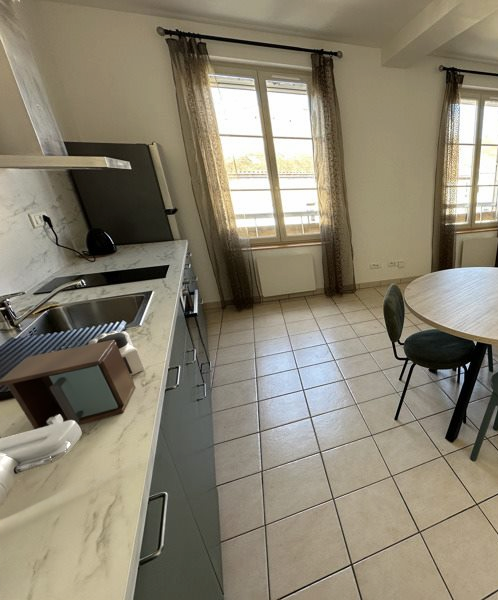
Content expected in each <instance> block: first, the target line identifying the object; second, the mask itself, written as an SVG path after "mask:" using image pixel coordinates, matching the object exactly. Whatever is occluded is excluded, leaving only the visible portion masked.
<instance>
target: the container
mask: <svg viewBox="0 0 498 600" xmlns="http://www.w3.org/2000/svg"><path fill="white" fill-rule="evenodd" d="M110 340H115V342H116V344H117V347H118V349H119V351H120V353H121V355H122V358H123V360H124V362H125V364H126V367H127V369H128V371H129V373H130V376H131V377H132V376H134V375H136V374H138V373H140V372H142V371H145V366H144V363H143V361H142V359H141V356H140V354H139V352H138V349H137V348H135V347H134V346H133V347H132V346H130V345H129V344H128V341H127V339H126V337H125V334H123V333H111V334H108V335H105V336H103V337H101V338H100V339H99V340H98V341H97V343H100V342H105V341H110Z"/></svg>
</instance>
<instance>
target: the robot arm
mask: <svg viewBox="0 0 498 600" xmlns="http://www.w3.org/2000/svg"><path fill="white" fill-rule="evenodd" d="M46 422H47V424H48V425H49V426H46V427H42V428H38V429H34V428H33V429H31V430H27V431H23V432H19V433H16V434H13V435H8V436H4V437H0V508H2V506H3V505H4V503H6V501H7V499H8V498H9V497H10V496H11V494H12V492H13V491H14V490H15V488H16V487H17V485H18V484H19V483H20V482H21V480H22V477H23V473H24V472H27V471H30V470H33V469H35V468H36V469H37V468H41V467H43V466H46V465H49V464H52V463H55V462H57V461H59V460H61V459H62V458H64V457H65V456H66V455H67V454H68V453H69V452H70V451H71V449H72V448H73V447H74V446H75V445H76V443H77V442H78V441H79V440H80V438H81V436H82V429H81V427H80V425H78V424H77V423H76V422H75V421H73V420H68V421H65V422H63V418H62V416H61V415H56V416H52V417H50V418H49V419H48V420H47V421H46Z"/></svg>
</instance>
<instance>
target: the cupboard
mask: <svg viewBox="0 0 498 600" xmlns="http://www.w3.org/2000/svg"><path fill="white" fill-rule="evenodd" d="M94 365H98V366H99V368H100V370H101V372H102V374H103V376H104V378H105V380H106V382H107V384H108V386H109V388H110V390H111V393H112V395H113V397H114V399H115V401H116V403H117V405H118V407H117V408H115V409H111V410H108V411H104V412H100V413H96V414H93V415H89V416H85V417H81V419H80V422H79V423H78V425H79V426H80V425H84V424H87V423H91V422H95V421H99V420H101V419H105V418H109V417H113V416H117V415H120V414H124V413H125V410H126V409H127V407H128V404H129V402H130V401H131V398H132V396H133V394H134V392H135V390H136V388H137V387H136V385H135V383H134V381H133V378H132V375H131V376H130V373H129V371H128V369H127V367H126V364H125V362H124V360H123V358H122V355H121V353H120V351H119V349H118V347H117V344H116V342H115V340H110V341H105V342H100V343H95V344H90V345H89V344H86V345H80V346H75V347H70V348H65V349H60V350H54V351H50V352H46V353H45V352H44V353H40V354H35V355H31V356H26V357H25V358H24V359H23V360H22V361H21V362H19V363H18V364H17V365H16V366H15V367H14V368H12V370H10V371H8V373H7V374H6V375H4V377H2V378H1V379H0V387H4V386H7V388H8V390H9V392H11V394H12V396H13V397H14V399H15V400H16V402H17V404H18V405H19V407H20V408H21V410H22V412H23V413H24V415H25V417H26V418H27V420H28V421H29V422H30V424H31V426H32V428H33V430H34V429H38V428H42V427H46V426H49V425H48V424H47V422H46V421H47V420H48V419H49V418H50V417H52V416H56V415H61V416H62V418H63V422H65V421H68V419H67V417H66V415H65V414H64V412H63V410H62V408H61V407H60V405H59V403H58V401H57V399H56V398H55V396H54V394H53V392H52V391H51V389H50V387H51V386H52V385H53V383H52V381H51V379H50V377H49V376H50V375H53V374H57V373H62V372H67V371H71V370H76V369H80V368H85V367H89V366H94Z"/></svg>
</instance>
